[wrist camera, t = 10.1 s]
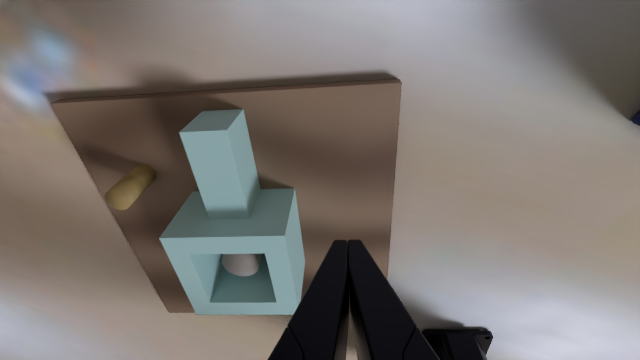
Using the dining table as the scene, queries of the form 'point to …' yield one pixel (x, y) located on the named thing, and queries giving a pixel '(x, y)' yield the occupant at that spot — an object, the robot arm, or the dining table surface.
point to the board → (270, 160)
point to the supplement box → (636, 119)
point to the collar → (234, 225)
